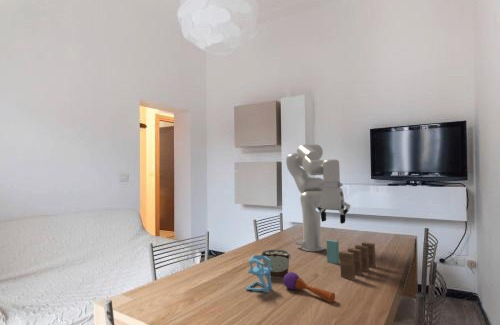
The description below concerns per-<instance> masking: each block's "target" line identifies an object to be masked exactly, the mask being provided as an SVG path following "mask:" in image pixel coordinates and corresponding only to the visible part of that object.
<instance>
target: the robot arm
mask: <svg viewBox="0 0 500 325" xmlns="http://www.w3.org/2000/svg"><path fill="white" fill-rule="evenodd" d="M323 152H324V151H323V148H322V147H321V145H319V144H315V143H314V144H309V143H308V144H301V145H299V146H298V147H297V149H296V152H294V153H289V154H288V155H287V156H286V159H285V160H286V162H285V163H286V167H287V170H288V172H289V174H290V175H291V176H292V177H293V179H294V182H295V184H296V187H297V189H298V191H299V193H300V197H299V198H300V199H299V200H300V205H301V211H302V230H303V231H302V236H303V239H302V240H295V242H294V244H295V245H297V246H300V249H301V250H303V251H306V252H321V251H324V250H325V246H324V245H322V232H321V231H322V229H321V228H322V226H321V222H326V221H327V213H326V211H327V210H328V211H338V212H339V213H340V215H339V219H340V220H339V223H340V224H342V225H343V224H345V223H346V214H348V212H349V210H350V208H351V204H349V203H347V202H346V201H345V197H344V192H343V188H341V187H343V183H342V182H341V179H340V175H341V174H340V161H339V160H338V159H321V158H322V157H323V154H324V153H323ZM309 175H310V176H322V178H321V177H310V176H309ZM319 213H320V214H319Z"/></svg>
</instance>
